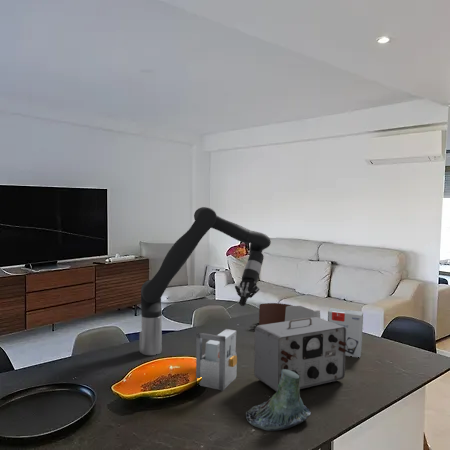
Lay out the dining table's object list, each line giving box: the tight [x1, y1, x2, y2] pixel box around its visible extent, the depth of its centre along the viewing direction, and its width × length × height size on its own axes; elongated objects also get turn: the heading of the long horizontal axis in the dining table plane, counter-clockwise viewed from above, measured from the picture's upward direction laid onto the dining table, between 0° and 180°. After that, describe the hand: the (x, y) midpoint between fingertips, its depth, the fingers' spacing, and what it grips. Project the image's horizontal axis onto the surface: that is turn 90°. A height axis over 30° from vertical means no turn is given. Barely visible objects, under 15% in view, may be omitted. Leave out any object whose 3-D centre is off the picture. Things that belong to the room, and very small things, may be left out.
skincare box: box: [204, 328, 237, 362], centre depth 174 cm, size 21×5×16 cm, turn 157°
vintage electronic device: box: [253, 317, 346, 393], centre depth 167 cm, size 32×18×25 cm, turn 117°
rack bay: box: [195, 331, 238, 391], centre depth 167 cm, size 12×13×20 cm
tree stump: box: [245, 369, 312, 432], centre depth 140 cm, size 18×20×18 cm
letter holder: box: [258, 302, 294, 325], centre depth 243 cm, size 10×20×14 cm, turn 80°
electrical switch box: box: [285, 305, 321, 321], centre depth 215 cm, size 15×15×20 cm
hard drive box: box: [327, 307, 364, 359], centre depth 200 cm, size 16×8×20 cm, turn 68°
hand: (241, 305), depth 194 cm, fingers closed
